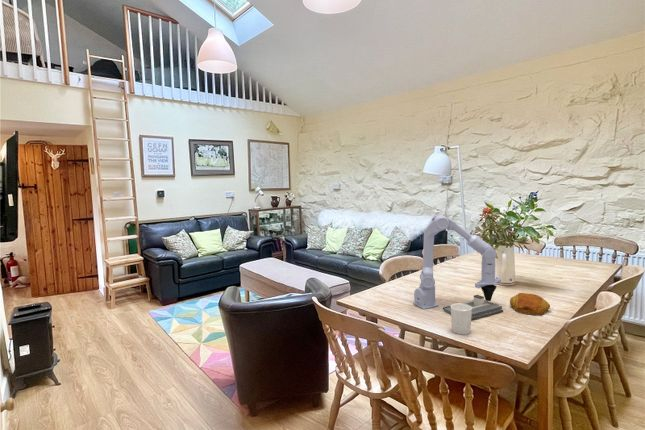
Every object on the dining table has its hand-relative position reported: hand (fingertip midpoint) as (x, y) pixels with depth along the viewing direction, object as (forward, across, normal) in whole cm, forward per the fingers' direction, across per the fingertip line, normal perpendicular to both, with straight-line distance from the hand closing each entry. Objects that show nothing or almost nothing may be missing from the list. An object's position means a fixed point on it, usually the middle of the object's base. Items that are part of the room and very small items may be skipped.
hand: (488, 300), depth 164 cm
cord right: (+3, -10, -8) cm, 13 cm away
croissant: (+3, +12, -11) cm, 17 cm away
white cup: (+3, -30, -13) cm, 33 cm away
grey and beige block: (+1, -6, 0) cm, 6 cm away
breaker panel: (+3, -10, 0) cm, 10 cm away
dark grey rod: (+3, -10, +8) cm, 13 cm away
